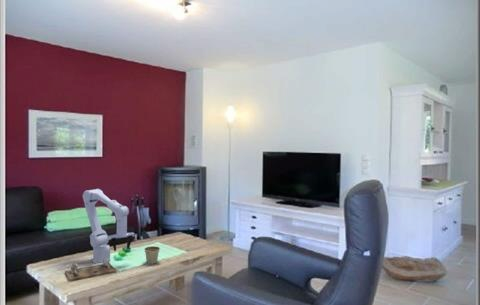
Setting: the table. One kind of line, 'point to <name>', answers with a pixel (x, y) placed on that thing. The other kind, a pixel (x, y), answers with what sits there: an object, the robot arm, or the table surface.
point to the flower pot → (152, 254)
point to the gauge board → (87, 272)
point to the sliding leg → (106, 262)
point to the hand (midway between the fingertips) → (121, 249)
